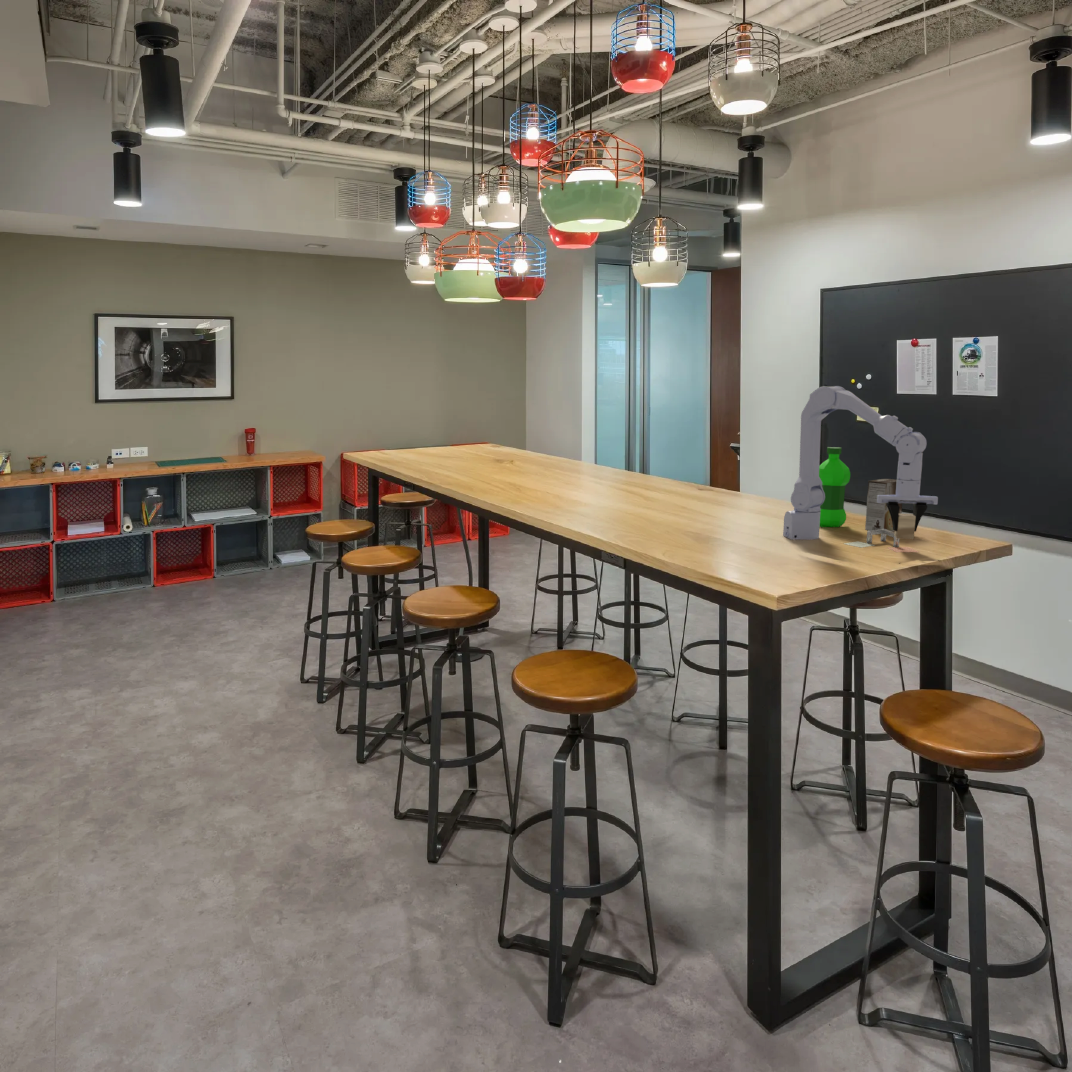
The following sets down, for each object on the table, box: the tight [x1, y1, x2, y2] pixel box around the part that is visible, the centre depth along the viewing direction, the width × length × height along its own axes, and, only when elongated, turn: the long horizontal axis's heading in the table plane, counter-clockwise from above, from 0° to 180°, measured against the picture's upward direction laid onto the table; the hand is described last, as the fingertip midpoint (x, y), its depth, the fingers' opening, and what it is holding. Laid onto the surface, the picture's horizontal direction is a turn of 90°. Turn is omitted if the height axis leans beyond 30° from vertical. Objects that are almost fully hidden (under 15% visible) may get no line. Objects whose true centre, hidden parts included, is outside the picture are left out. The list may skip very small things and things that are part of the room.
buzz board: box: [843, 541, 919, 553], centre depth 221 cm, size 16×18×1 cm
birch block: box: [894, 513, 916, 540], centre depth 215 cm, size 4×4×6 cm
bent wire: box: [865, 529, 901, 547], centre depth 223 cm, size 7×9×4 cm
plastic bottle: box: [819, 446, 851, 528], centre depth 252 cm, size 10×10×25 cm
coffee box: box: [864, 478, 903, 532], centre depth 244 cm, size 9×6×16 cm
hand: (904, 530), depth 215 cm, fingers closed on birch block, 4 cm apart
